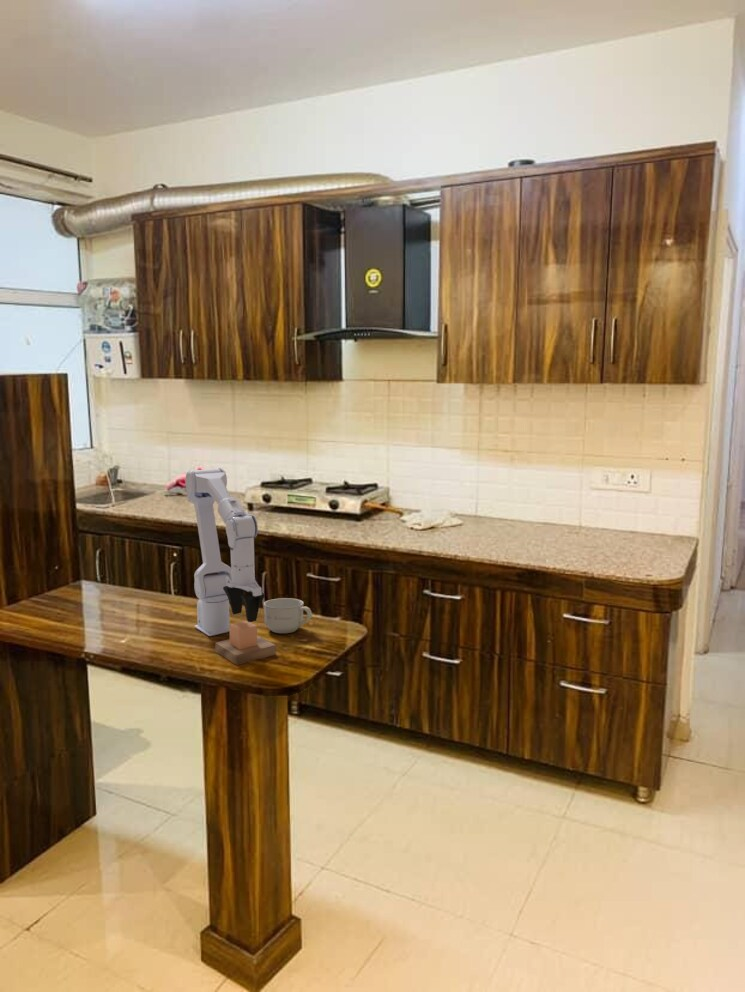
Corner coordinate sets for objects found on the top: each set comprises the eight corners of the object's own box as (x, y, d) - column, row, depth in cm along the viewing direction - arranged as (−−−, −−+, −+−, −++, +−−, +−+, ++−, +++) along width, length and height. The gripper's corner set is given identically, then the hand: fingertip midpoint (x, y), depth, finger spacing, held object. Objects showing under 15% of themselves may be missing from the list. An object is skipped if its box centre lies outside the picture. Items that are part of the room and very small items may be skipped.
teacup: (256, 631, 205) (255, 603, 204) (284, 620, 214) (283, 593, 213) (293, 642, 197) (292, 613, 196) (321, 631, 205) (320, 603, 204)
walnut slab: (215, 654, 191) (215, 642, 190) (253, 644, 197) (253, 633, 197) (236, 667, 182) (236, 655, 182) (275, 656, 189) (275, 645, 188)
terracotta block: (229, 643, 189) (229, 624, 189) (247, 639, 192) (246, 620, 192) (239, 649, 186) (239, 629, 185) (257, 644, 189) (256, 625, 188)
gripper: (214, 560, 189) (216, 612, 191) (242, 573, 178) (244, 628, 180) (239, 556, 193) (241, 607, 196) (268, 568, 182) (269, 622, 184)
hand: (244, 617), depth 188 cm, fingers open, 7 cm apart
